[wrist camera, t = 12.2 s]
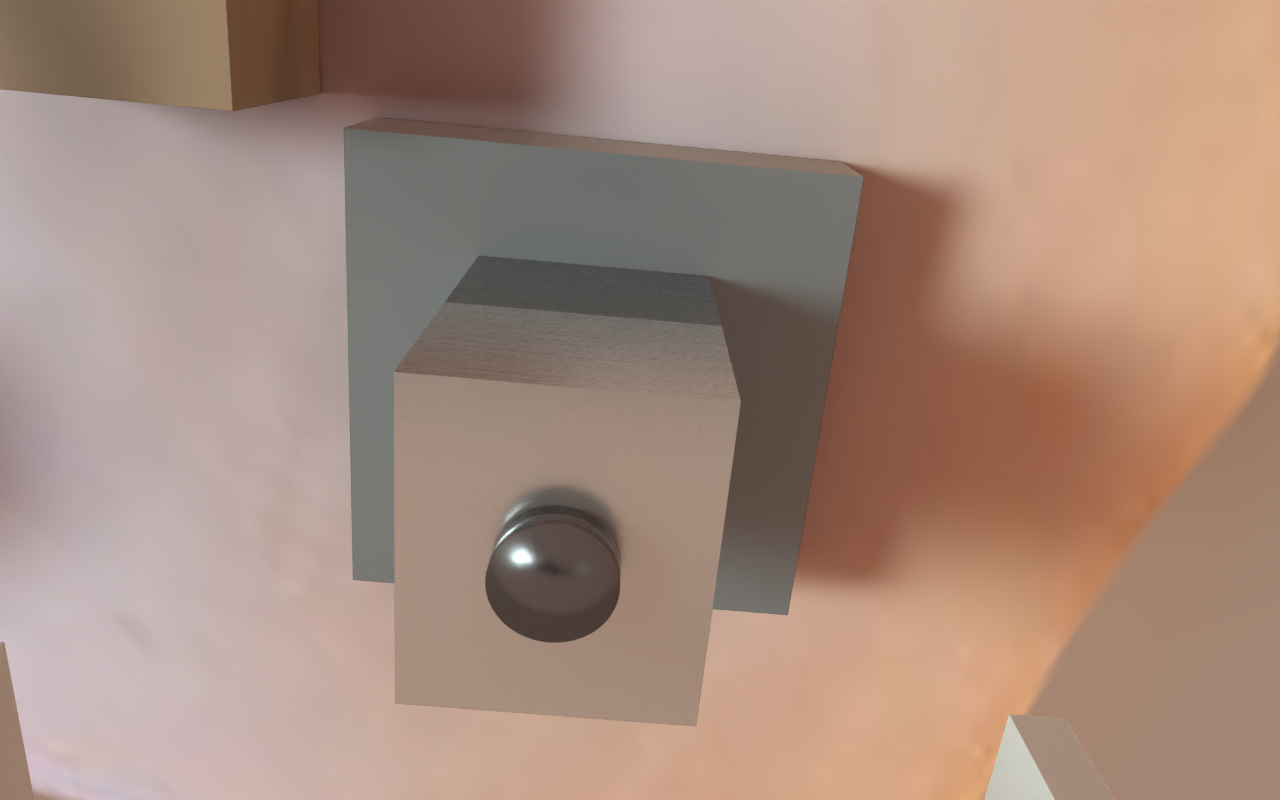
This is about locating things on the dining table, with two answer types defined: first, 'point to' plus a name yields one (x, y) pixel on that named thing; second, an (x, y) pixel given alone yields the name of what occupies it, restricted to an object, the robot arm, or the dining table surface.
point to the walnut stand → (163, 50)
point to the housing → (562, 492)
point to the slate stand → (610, 237)
